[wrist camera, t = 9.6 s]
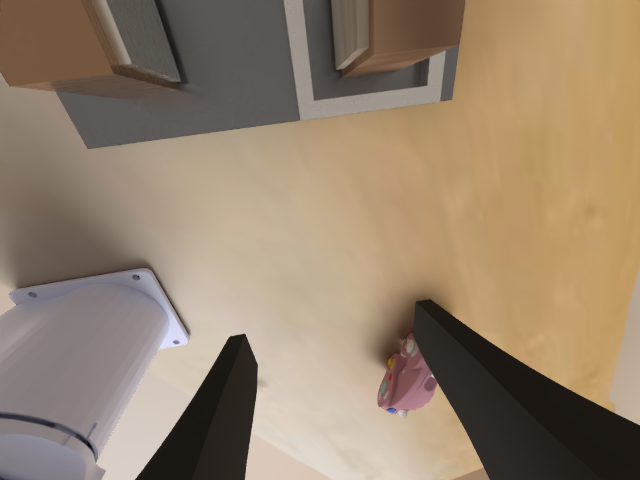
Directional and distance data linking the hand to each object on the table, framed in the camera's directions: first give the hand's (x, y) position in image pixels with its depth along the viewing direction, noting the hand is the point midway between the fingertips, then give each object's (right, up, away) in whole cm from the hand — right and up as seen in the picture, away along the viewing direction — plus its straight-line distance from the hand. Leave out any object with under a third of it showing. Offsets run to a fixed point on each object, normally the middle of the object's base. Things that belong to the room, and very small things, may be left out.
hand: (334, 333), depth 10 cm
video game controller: (+9, -8, +16) cm, 20 cm away
